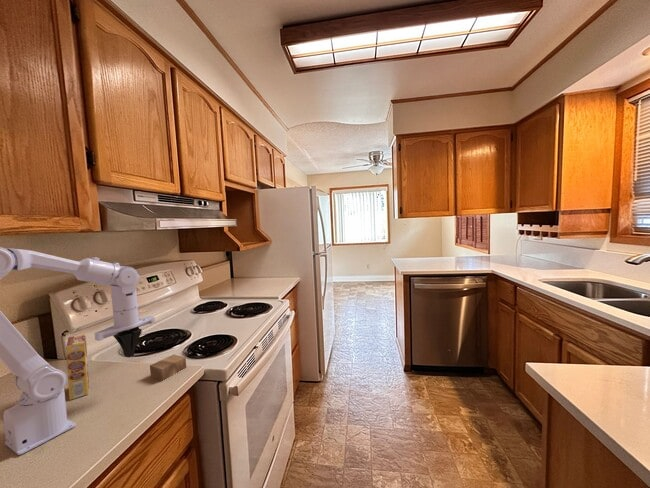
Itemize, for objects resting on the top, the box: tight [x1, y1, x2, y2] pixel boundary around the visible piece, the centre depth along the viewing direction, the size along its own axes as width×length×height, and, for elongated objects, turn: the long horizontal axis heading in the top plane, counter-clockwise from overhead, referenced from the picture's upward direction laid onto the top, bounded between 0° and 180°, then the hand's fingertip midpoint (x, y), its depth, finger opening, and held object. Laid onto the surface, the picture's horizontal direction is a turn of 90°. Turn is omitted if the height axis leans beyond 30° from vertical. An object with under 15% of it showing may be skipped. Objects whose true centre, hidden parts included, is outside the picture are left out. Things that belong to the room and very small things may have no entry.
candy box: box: [65, 333, 90, 400], centre depth 80 cm, size 9×4×15 cm, turn 39°
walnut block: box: [149, 354, 187, 382], centre depth 89 cm, size 4×6×8 cm
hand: (129, 355), depth 79 cm, fingers closed
